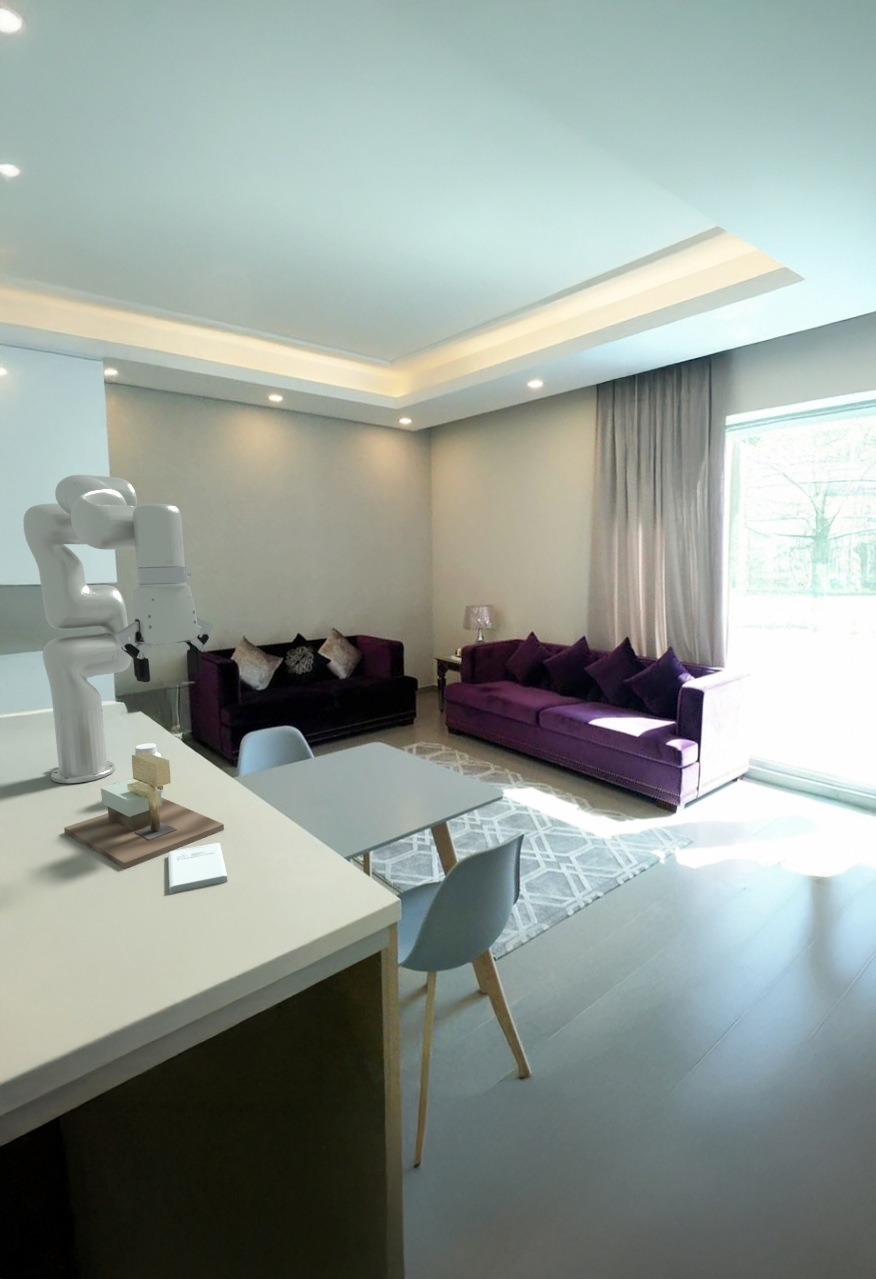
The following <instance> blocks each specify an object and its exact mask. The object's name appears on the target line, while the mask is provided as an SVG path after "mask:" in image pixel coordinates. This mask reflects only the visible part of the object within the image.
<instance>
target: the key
mask: <svg viewBox="0 0 876 1279" xmlns="http://www.w3.org/2000/svg"><path fill="white" fill-rule="evenodd" d="M132 763H133V769H132V777H133V776H134V778H137V779H139V780H142V781H144V782H146V783H147V785H146V784H143V783H141V782H138V781H137V782H134V783H131V784H127V788H128V790H129V791H131V792H134V793H136V794H138V795H140V796H143V797H145V798H147V799H148V802H149V815H150V828H151V830H158V829H160V814H159V801H158V795H159V794H158V787H159V786H162V785H163V786H165V785H169V784H171V782H172V781H171V768H170V760H169V759H165V758H163V757H162V756H161V757H158V756H155V755H152V754H150V753H147V752H143V753H139V754H136V753H135V754H132V755H131V764H132Z"/></svg>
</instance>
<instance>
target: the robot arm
mask: <svg viewBox="0 0 876 1279" xmlns="http://www.w3.org/2000/svg"><path fill="white" fill-rule="evenodd" d="M54 492H55V494H54V495H55V499H56V501H57V503H42V504H37V505H33V506H31V507H29V508H28V509H27V510H26V511H25V513H24V516H23V532H24V533H23V534H24V536H25V540H26V543H27V546H28V548H29V550H30V552H31V554H32V556H33V558H34V561H35V562H36V565H37V568H38V569H37V570H38V572H39V580H40V586H41V587H40V589H41V595H42V601H43V602H42V603H43V608H44V609H43V610H44V613H45V619H46V621H47V624H48V625H49V626H50V627H51V628H52V629H56V630H60V631H61V630H62V631H63V630H64V631H66V630H78V629H79V630H81V629H82V630H83V629H92V628H101V631H102V632H98V633H89V634H87V633H85V634H76V635H75V634H74V635H66V636H60V637H57V638H54V639H51V640H49V641H48V642H47V643H46V644H45V645H44V648H43V650H42V660H43V665H44V668H45V671H46V675H47V679H48V683H49V689H50V695H51V702H52V710H53V711H52V712H53V721H54V722H53V723H54V732H55V743H56V753H57V754H56V755H57V762H58V768H55V770H54V771H52V772H51V774H50V776H51V780H52V781H53V782H55V783H59V784H77V783H79V784H80V783H87V782H90V781H96V780H98V779H102V778H105V777H107V776H109V775H111V774H112V773H113V772H114V771H115V769H116V766H115V763H114V762H112V761H110V760H107V748H106V739H105V738H106V737H105V736H106V735H105V728H104V725H105V724H104V715H103V705H102V704H103V703H102V697H101V693H100V692H99V691H98V689H97V688H96V687H95V686H94V685H92V683H90V682H89V681H88V678H92V677H97V676H103V675H109V674H116V673H121V672H124V671H126V670H128V668H129V667H130V665H131V663H132V662H133V672H134V676H135V678H136V681H137V682H141V683H149V682H150V681H151V674H150V661H149V659H148V658H146V656H147V654H148V652H149V651H150V649H151V648H152V647H156V646H158V647H159V646H165V645H173V644H179V643H184V644H185V645H186V646H187V647H188V648H189V649H187V650H186V659H187V660H186V661H187V672H189V673H195V674H200V673H202V671H203V670H202V666H203V661H202V660H203V659H202V657H203V656H202V651H203V650H204V648H205V645H206V644H207V643H208V641H209V638H210V634H211V631H212V628H213V624H212V623H211V622H208V621H205V620H204V619H201V618H199V617H197V610H196V606H195V601H194V597H193V593H192V589H191V587H190V585H189V584H187V579H190V578H191V577H192V572H191V570H188V569H187V567H186V566H185V565H186V563H185V562H186V561H185V550H184V536H183V535H184V534H183V523H182V513H181V510H180V509H179V508H178V507H177V506H176V505H174V504H170V503H169V504H165V503H144V504H139V505H138V498H137V493H136V490H135V488H134V487H133V485H132V484H131V483H130V482H129V481H128V480H126V479H124V478H122V477H118V476H117V477H114V476H105V475H104V476H103V475H102V476H101V475H92V474H91V475H90V474H89V475H87V474H74V475H69V476H66V477H64V478H62V479H61V480H60V481H59V482H58V483H57V485H56V488H55V491H54ZM66 545H87V546H90V547H91V548H94V549H98V550H105V551H106V550H108V551H109V550H135V558H136V567H137V570H136V571H137V580H138V586H136V587H133V590H132V595H131V596H132V597H131V605H130V606H131V608H130V624H129V622H128V614H127V608H126V603H125V600H124V596H123V595H122V593H121V591H120V590H119V589H118V588H116V587H115V586H112V585H109V584H92V585H90V584H89V585H88V584H87V582H86V577H85V569H84V565H83V562H82V561H81V559H80V558H79V557H78V556H77V554H75V553H74V552H73V551H72V550H71V549H70V548H69V547H68V546H66ZM199 628H200V631H199V632H198V630H199ZM198 633H199V634H198ZM130 637H131V639H130ZM131 640H132V642H133V643H134V645H133V644H132V643H131ZM132 660H133V661H132Z"/></svg>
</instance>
